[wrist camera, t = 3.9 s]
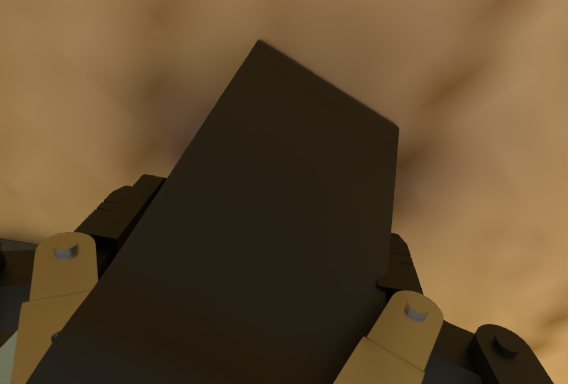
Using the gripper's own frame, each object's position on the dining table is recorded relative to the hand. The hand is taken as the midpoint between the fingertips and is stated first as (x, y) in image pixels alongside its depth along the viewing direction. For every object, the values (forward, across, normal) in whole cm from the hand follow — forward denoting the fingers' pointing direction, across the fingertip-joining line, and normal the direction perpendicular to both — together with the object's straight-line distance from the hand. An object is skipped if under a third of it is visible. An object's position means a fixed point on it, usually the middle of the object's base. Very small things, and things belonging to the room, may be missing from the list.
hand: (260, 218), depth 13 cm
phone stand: (+4, 0, 0) cm, 4 cm away
